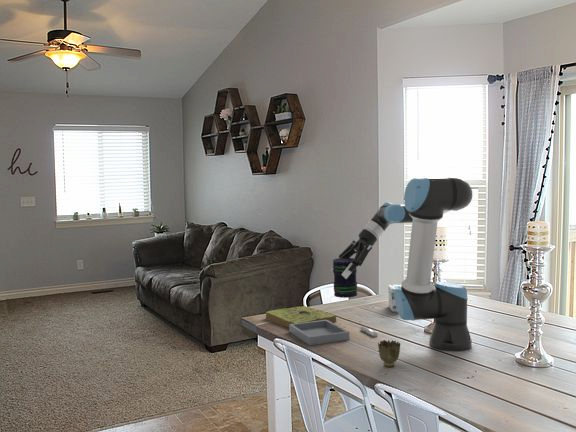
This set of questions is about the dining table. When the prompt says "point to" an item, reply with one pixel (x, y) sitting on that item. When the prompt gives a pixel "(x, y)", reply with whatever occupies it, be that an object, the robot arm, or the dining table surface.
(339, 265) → the storage jar
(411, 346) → the dining table surface
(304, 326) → the tray
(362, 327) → the rod
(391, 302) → the light bulb box
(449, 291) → the robot arm
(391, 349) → the cup
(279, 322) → the miniature landscape model
